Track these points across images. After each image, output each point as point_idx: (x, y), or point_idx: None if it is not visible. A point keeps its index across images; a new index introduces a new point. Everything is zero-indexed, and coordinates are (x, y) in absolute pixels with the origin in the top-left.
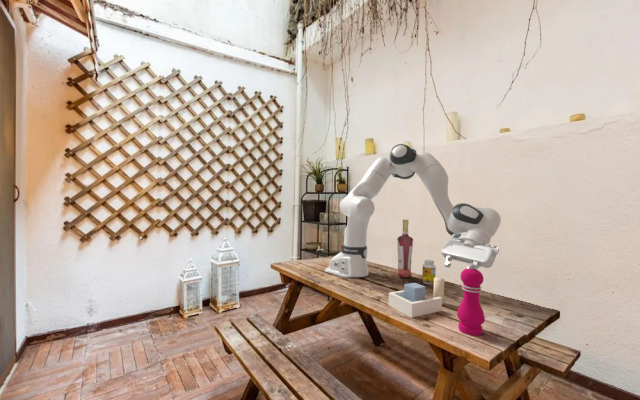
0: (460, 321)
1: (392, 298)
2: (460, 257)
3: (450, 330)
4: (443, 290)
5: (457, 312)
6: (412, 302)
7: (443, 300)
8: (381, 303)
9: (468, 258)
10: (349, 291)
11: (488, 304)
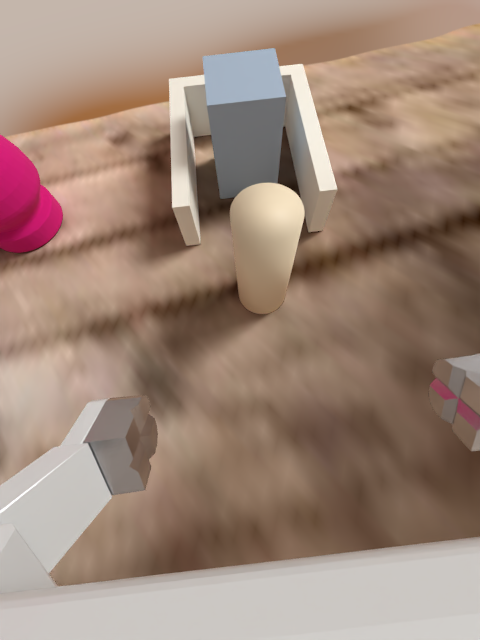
0: (44, 195)
1: None
2: (400, 546)
3: (64, 175)
4: (236, 264)
5: (19, 149)
6: (179, 85)
7: (241, 295)
8: (316, 105)
9: (109, 585)
10: (457, 63)
11: (151, 561)
